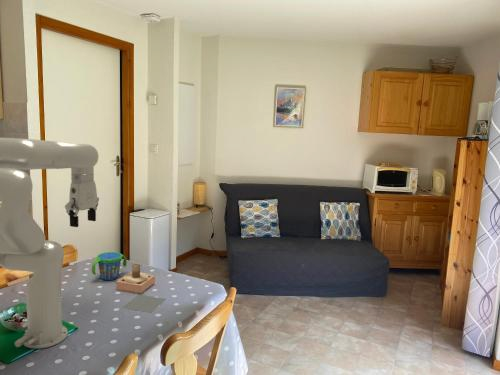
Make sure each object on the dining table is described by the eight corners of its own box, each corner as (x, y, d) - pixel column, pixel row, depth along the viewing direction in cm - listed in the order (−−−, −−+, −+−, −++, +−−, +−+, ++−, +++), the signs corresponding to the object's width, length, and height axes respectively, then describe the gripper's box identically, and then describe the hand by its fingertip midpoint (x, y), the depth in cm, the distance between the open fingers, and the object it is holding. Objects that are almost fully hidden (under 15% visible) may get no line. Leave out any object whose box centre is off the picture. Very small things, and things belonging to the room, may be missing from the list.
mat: (151, 313, 137) (151, 312, 137) (121, 308, 140) (121, 307, 140) (166, 299, 149) (166, 299, 149) (139, 295, 152) (139, 294, 152)
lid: (140, 284, 152) (140, 271, 151) (118, 281, 154) (118, 267, 154) (152, 275, 162) (152, 262, 161) (131, 272, 164) (132, 259, 163)
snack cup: (121, 270, 177) (121, 249, 175) (131, 277, 169) (131, 255, 167) (87, 277, 166) (86, 255, 164) (96, 285, 158) (96, 262, 157)
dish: (141, 295, 152) (141, 285, 151) (116, 290, 155) (116, 281, 154) (154, 284, 163) (155, 275, 162) (131, 280, 166) (131, 271, 165)
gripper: (75, 181, 129) (75, 230, 131) (106, 176, 145) (106, 219, 148) (56, 180, 131) (57, 227, 133) (89, 174, 147) (89, 217, 150)
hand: (83, 223), depth 141 cm, fingers open, 9 cm apart
